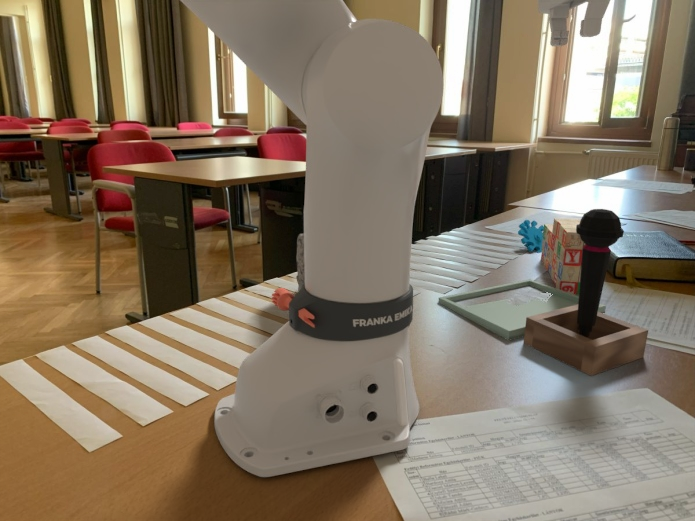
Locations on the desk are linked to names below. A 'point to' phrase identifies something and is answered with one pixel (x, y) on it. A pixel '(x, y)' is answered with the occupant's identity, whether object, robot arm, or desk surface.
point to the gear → (531, 235)
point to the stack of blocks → (563, 254)
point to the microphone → (594, 262)
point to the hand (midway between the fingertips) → (572, 41)
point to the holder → (585, 340)
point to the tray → (510, 308)
